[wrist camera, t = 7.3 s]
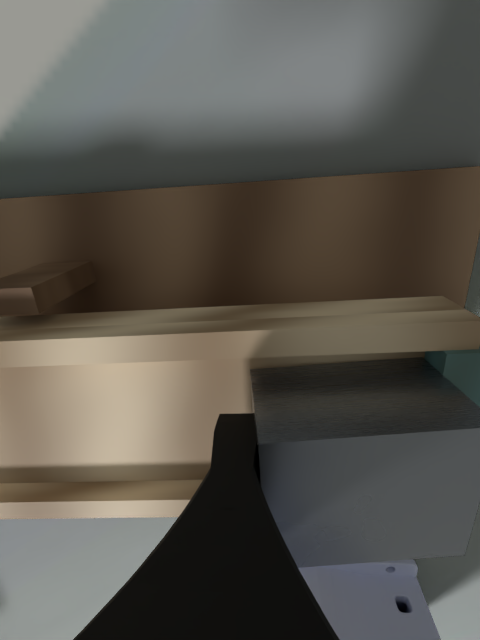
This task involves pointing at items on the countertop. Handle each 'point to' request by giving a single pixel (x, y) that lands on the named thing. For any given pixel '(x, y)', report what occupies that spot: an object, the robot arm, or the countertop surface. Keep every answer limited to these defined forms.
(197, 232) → the stand
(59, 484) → the beam
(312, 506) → the grey block
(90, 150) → the countertop surface
